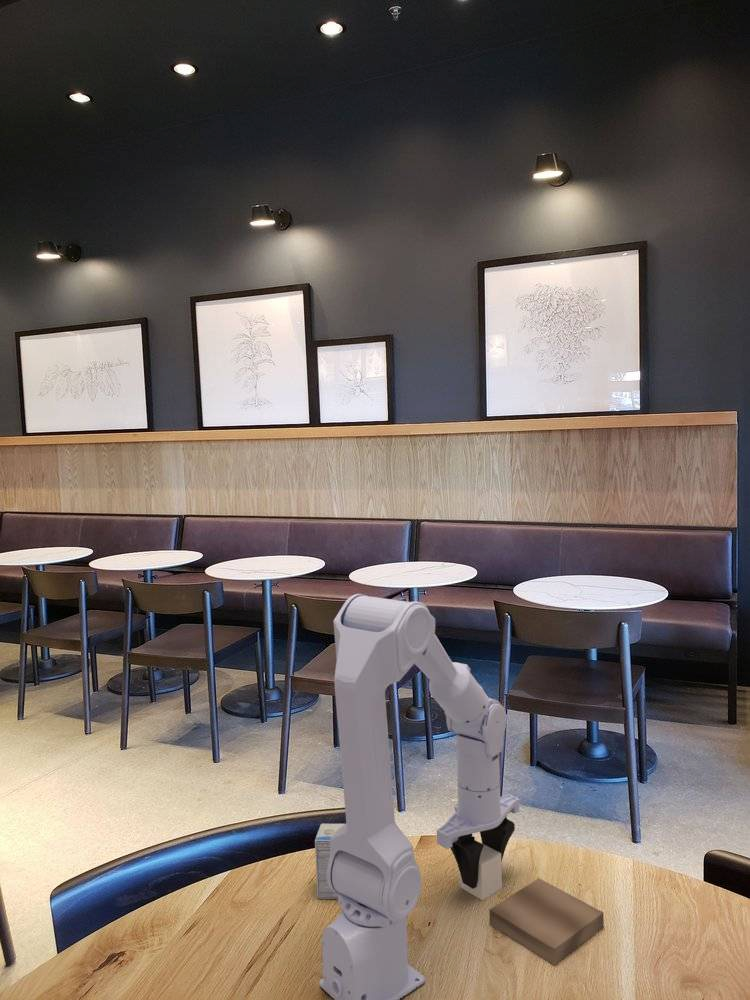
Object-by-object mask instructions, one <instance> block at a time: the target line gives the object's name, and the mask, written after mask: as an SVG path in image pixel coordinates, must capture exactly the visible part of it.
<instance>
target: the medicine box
mask: <svg viewBox="0 0 750 1000" xmlns="http://www.w3.org/2000/svg"><path fill="white" fill-rule="evenodd" d="M344 824H345V823H321V824H320V825H319V828H318V830H317V833H316V836H315V838H314V848H315V849H314V850H315V871H316V896H317V899H324V900H326V899H327V900H332V899H333V900H338V893H336V892H334V891H333V890H332V889H331V888H330V887H329V884H328V881H327V867H328V862H329V858H330V839H331V837H332V836H333V835H334V833H335V832H336V831H337V830H338V829H339V828H340V827H342V826H343V825H344Z"/></svg>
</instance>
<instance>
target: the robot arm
mask: <svg viewBox="0 0 750 1000" xmlns="http://www.w3.org/2000/svg"><path fill="white" fill-rule="evenodd" d="M333 633H334V646H335V655H336V656H335V657H336V662H335V669H334V670H335V671H334V679H333V680H334V681H333V682H334V693H335V706H336V707H335V708H336V717H337V718H336V719H337V728H338V729H337V730H338V741H339V751H340V762H341V763H340V764H341V775H342V788H343V799H344V809H345V822H346V823H343V824H344V825H343V826H342V827H340V828H339V829H338V830H337V831H336V832H335V833H334V835H333V836H332V837H331V839H330V858H329V862H328V867H327V881H328V884H329V887H330V888H331V889H332V890H333V891H334V892H336V893H338V899H337V904H338V905H340V906H341V911H340V912H339V914H338V915H337V917H336V918H335V919H334V920H333V921H332V922H331V923H330V924H329V925H328V926H326V927H325V928H323V931H322V933H321V934H322V935H321V957H322V978H321V979H320V980H319V986H320V987H321V988H322V989H323V990H324V991H325V992H326V993H327V994H328V995H329V996H330V997H331V998H333V1000H401V999H402V998H403V996H404V997H405V996H407V995H408V994H410V993H411V992H413V990H415V989H417V988H418V987H420V986H421V985H423V984H424V983H425V982H426V980H425V979H426V978H425V976H424V975H423V974H421V973H420V972H419V971H418V970H416V969H415V968H414V967H413V966H411V965H410V964H409V957H408V956H409V954H408V953H409V950H408V947H409V946H408V923H407V922H408V920H407V916H409V914H411V912H412V911H413V910H414V908H415V907H416V905H417V903H418V900H419V898H420V894H421V889H422V874H421V870H420V866H419V865H418V863H417V861H416V858H415V853H414V845H413V844H412V842H411V841H410V840H409V839H408V837H407V836H406V835H405V834H404V832H403V831H402V830H401V829H400V827H399V826H398V825H397V823H396V817H395V806H394V794H393V779H392V767H391V755H390V754H391V753H390V742H389V728H388V717H387V703H386V690H387V688H388V687H389V685H392V684H395V683H398V682H400V681H401V680H402V679H403V677H404V676H405V675H406V674H407V673H408V672H409V670H410V669H411V668H412V667H413V666H414V665H415V666H416V667H417V668H418V669H419V670H420V671H421V672H422V673H423V675H425V677H426V678H428V680H429V683H428V688H429V689H428V690H429V693H430V695H431V696H432V698H433V699H434V700H435V702H436V703H437V704H438V705H439V706H440V708H441V709H442V710H443V711H444V715H445V718H446V719H445V720H446V727H447V730H448V731H449V732H451V733H453V734H456V740H455V741H456V769H457V770H456V771H457V772H456V773H457V803H456V804H455V805H454V812H455V813H454V814H453V815H452V816H451V817H450V818H449V819H448V820H447V821H446V822H445V823H444V825H442V826H440V828H438V829H436V843H437V845H439V846H441V847H442V848H444V849H446V850H449V849H450V850H451V852H452V854H453V856H454V859H455V862H456V863H457V866H458V870H459V875H460V874H461V878H462V882H463V883H464V884H466V885H467V886H469V887H471V888H472V889H474V888H475V887H477V882H478V866H479V859H480V855H481V852H482V849H483V847H484V845H486V846H488V847H490V848H492V849H494V850H496V851H497V852H499V853H501V864H502V863H503V859H504V855H505V851H506V847H507V845H508V843H509V841H510V838H511V837H512V835H513V833H514V832H515V824H516V823H514V822H513V821H512V820H510V819H508V817H507V816H508V814H511V813H512V814H517V813H519V812H520V799H519V798H518V797H516V796H514V795H512V794H510V793H507V794H506V795H503V796H501V783H500V782H501V780H500V779H501V778H500V753H501V752H502V751H503V746H504V735H505V732H506V729H507V728H506V727H507V724H508V723H507V722H508V714H506V709H505V707H504V706H503V705H502V704H501V702H500V701H499V700H498V699H495V698H490V697H489V696H488V695H487V694H486V692H485V691H484V688H483V687H482V685H480V684H479V682H478V681H477V680H476V678H475V677H474V675H472V673H471V668H470V666H469V664H466V663H461V662H456V661H455V662H454V661H452V660H451V658H450V657H449V655H448V653H447V652H446V650H445V648H444V647H443V645H442V643H441V642H440V640H439V638H438V637H437V635H436V634H435V633H436V617H434V615H432V614H431V613H430V610H429V608H428V607H427V606H426V604H424V603H423V602H420V601H415V600H414V601H404V600H397V599H391V598H383V597H377V596H370V595H367V594H363V593H356V594H353V595H351V596H350V597H348V598H347V599H346V601H344V603H343V605H342V606H341V608H340V610H339V611H338V613H337V615H336V616H335V618H334V619H333ZM476 833H477V834H478V833H479V834H480V839H481V842H480V841H477V840H476V839H475V836H473V834H476ZM479 842H480V843H479ZM481 843H482V844H481ZM483 844H484V845H483ZM416 981H418V982H416ZM416 987H417V988H416ZM400 998H401V999H400Z"/></svg>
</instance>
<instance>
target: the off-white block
mask: <svg viewBox="0 0 750 1000" xmlns="http://www.w3.org/2000/svg"><path fill="white" fill-rule="evenodd" d="M478 842H479V843H481V844H482V842H480V841H478ZM483 845H484V844H483ZM502 869H503V868H502V863H501V853H499V852H497V851H496V850H494V849H492V848H490V847H488V846H486V845H484V847H483V849H482V852H481V855H480V859H479V866H478V882H477V887H475V888H474V889H472V888H471V887H469V886H467V885H466V884H464V883H463V882H462V878H461V874H460V873H459V879H460V880H459V881H460V888H461V889H463V890H464V891H466V892H467V893H469V894H471V895H472V896H474V897H476V898H478V899H479V900H481V901H483V900H485V899H487V898H489V897H491V896H492V895H494V894H495V893H497V892H498V891H500V890H502V889H503V881H502V880H503V879H502V878H503V877H502V876H503V874H502V873H503V872H502Z"/></svg>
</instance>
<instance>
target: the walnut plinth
mask: <svg viewBox="0 0 750 1000" xmlns="http://www.w3.org/2000/svg"><path fill="white" fill-rule="evenodd" d="M604 923H605V922H604V912H603V911H602V910H599V909H598V908H596V907H594V906H593V905H590V904H588V903H587V902H585V901H583V900H580V899H579V898H578V897H575V896H574V895H572V894H570V893H568V892H566V891H564V890H563V889H561V888H558V887H556V886H554V885H553V884H550V883H549V882H547V881H545V880H543V879H541V878H540V877H539V878H537V879H535V880H534V881H532V882H531V883H529V884H527V885H525V886H524V887H522V888H521V889H519V890H518V891H516V892H515V893H514V894H512V895H510V896H508V897H507V898H505V899H503V900H502V901H500V902H499V903H497V904H496V905H493V906H492V907H491V908H489V925H490V926H492V927H493V928H495V929H496V930H498V931H499V932H501V933H502V934H505V936H507V937H509V938H511V939H512V940H513V941H515V942H517V943H518V944H520V945H522V946H523V947H524V948H526V949H528V950H529V951H531V952H532V953H533V954H536V955H538V956H539V957H541V958H542V959H544V960H545V961H547V962H548V963H550V964H552V965H553V966H556V965H557V964H559V963H560V962H562V960H564V959H565V958H567V957H568V956H569V955H570V954H572V952H574V951H576V949H577V950H578V948H579V947H581V946H582V945H583V944H584V943H586V942H587V941H588V940H590V939H591V938H592V937H593V936H595V935H596V934H597V933H599V932H600V931H602V930H603V929H604V928H605V927H604V926H605V925H604Z"/></svg>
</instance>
